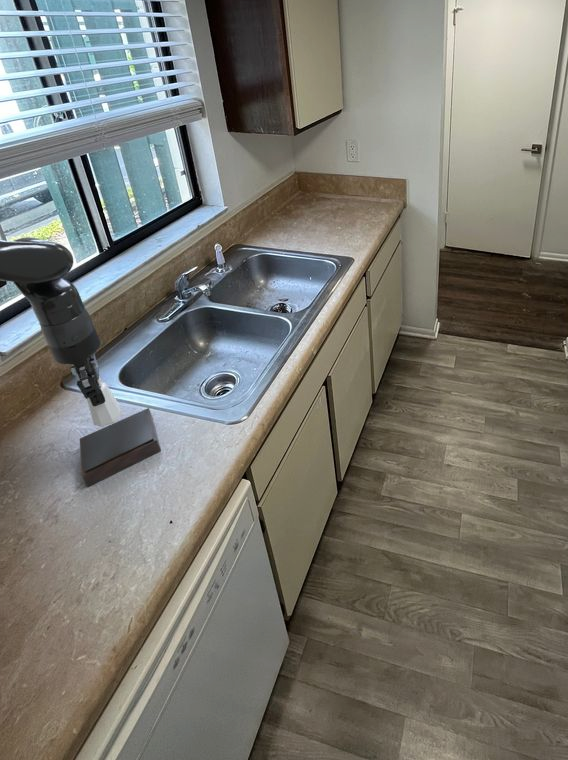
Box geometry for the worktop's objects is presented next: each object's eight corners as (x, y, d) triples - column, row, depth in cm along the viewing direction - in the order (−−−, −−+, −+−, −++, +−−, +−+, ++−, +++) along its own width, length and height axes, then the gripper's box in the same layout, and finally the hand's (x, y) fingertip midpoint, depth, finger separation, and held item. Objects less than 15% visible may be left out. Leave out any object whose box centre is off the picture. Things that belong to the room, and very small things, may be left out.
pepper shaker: (88, 429, 91) (70, 391, 87) (100, 408, 96) (84, 371, 91) (116, 425, 92) (99, 387, 87) (126, 405, 97) (111, 368, 92)
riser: (87, 487, 91) (81, 475, 90) (84, 449, 99) (78, 437, 98) (161, 451, 99) (156, 439, 97) (152, 418, 107) (148, 406, 105)
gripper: (46, 321, 87) (75, 384, 95) (46, 363, 77) (78, 429, 84) (91, 307, 91) (115, 368, 99) (96, 345, 81) (123, 410, 88)
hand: (98, 396), depth 91 cm, fingers closed on pepper shaker, 3 cm apart
